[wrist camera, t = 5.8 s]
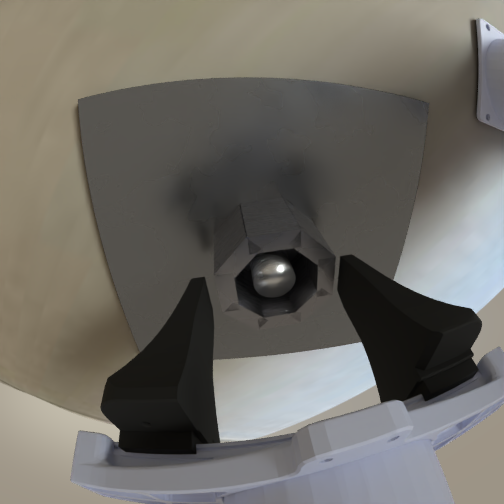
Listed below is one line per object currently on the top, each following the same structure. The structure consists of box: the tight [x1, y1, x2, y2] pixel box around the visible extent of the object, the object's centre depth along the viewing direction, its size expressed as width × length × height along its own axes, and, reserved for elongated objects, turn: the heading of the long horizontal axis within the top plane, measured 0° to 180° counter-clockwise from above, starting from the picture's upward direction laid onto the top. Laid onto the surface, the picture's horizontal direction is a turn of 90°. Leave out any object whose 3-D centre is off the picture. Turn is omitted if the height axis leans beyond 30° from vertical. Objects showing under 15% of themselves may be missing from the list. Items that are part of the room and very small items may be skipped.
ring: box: [214, 198, 336, 330], centre depth 14 cm, size 5×5×4 cm
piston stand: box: [78, 78, 429, 360], centre depth 15 cm, size 18×18×3 cm
